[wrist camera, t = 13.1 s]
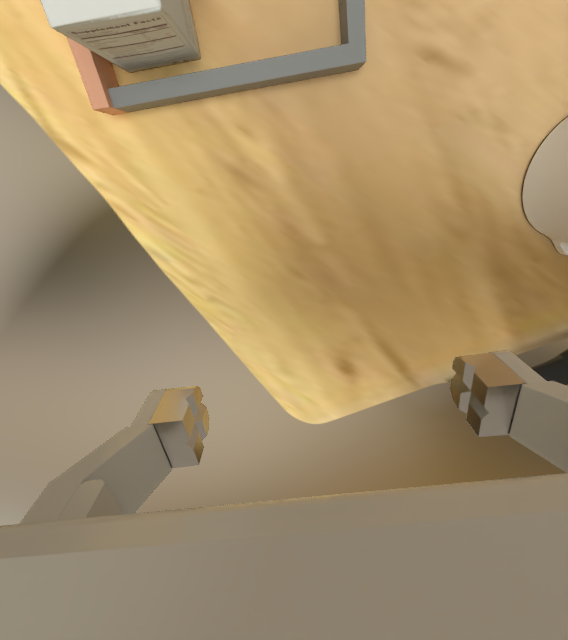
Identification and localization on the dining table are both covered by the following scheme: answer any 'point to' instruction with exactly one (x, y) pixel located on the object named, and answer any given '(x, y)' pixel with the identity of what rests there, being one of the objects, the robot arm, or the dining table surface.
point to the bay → (223, 71)
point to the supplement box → (128, 30)
